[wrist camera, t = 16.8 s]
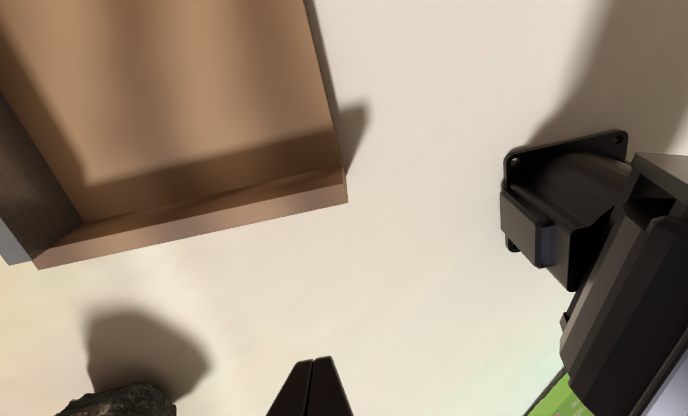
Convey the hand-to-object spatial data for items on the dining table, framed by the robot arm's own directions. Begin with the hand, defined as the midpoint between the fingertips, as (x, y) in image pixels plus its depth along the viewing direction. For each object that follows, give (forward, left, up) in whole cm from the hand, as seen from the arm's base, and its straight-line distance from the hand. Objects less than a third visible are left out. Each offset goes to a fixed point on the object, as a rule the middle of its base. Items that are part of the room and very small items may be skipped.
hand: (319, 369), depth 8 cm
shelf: (+7, -6, -12) cm, 16 cm away
